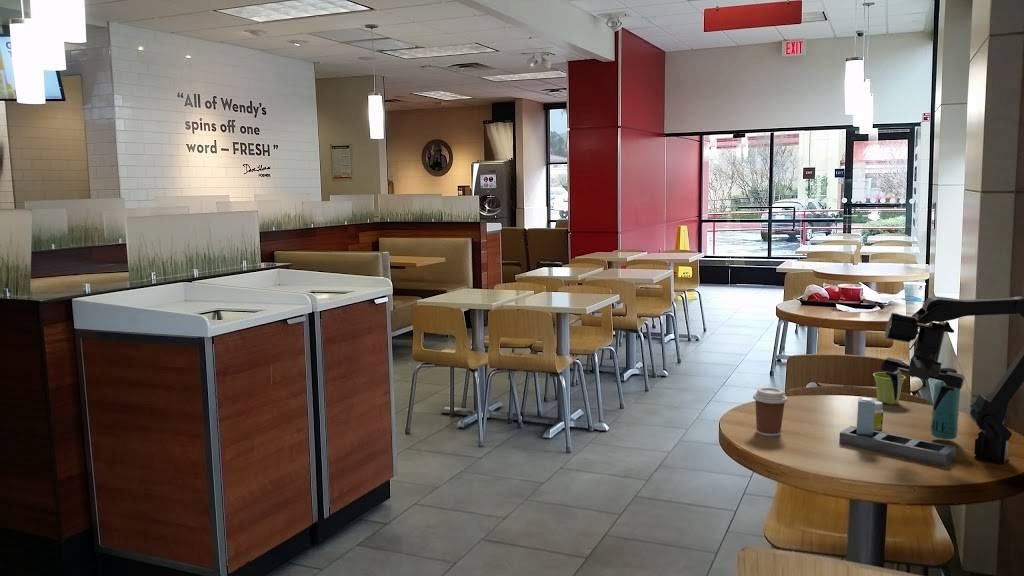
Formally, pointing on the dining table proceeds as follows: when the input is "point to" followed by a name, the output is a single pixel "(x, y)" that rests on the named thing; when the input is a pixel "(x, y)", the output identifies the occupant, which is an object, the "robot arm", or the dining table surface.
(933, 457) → the grey slotted rack
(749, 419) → the dining table surface
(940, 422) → the beverage bottle
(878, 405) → the supplement bottle
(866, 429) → the light blue tall block
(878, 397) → the plant pot
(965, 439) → the dining table surface
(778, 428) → the coffee cup
